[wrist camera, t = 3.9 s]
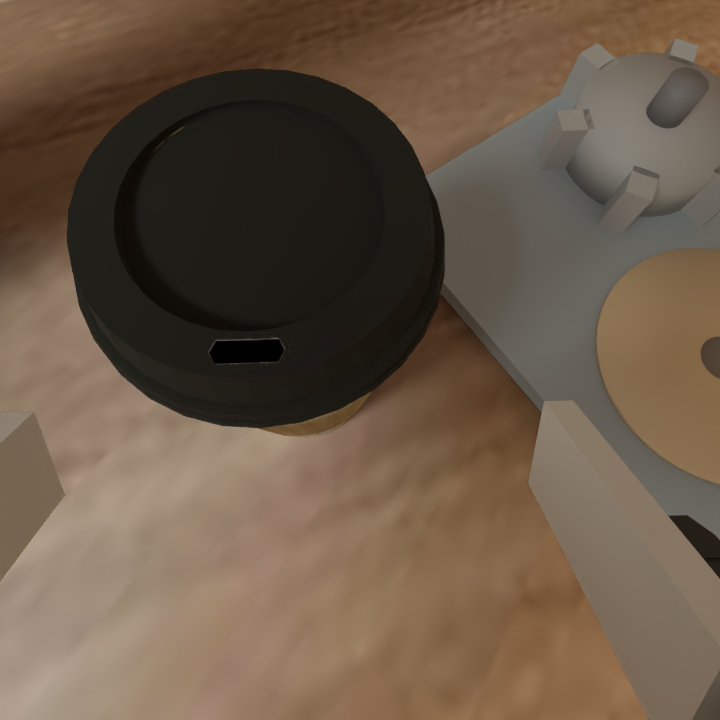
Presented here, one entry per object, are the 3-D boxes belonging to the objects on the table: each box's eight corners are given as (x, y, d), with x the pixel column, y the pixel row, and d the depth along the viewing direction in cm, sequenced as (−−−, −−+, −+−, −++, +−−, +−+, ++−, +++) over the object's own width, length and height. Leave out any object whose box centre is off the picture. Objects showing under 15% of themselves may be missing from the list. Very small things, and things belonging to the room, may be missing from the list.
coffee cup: (393, 293, 27) (440, 45, 13) (405, 469, 24) (485, 402, 10) (219, 298, 27) (69, 51, 13) (209, 477, 24) (-5, 421, 9)
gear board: (376, 217, 29) (382, 140, 23) (615, 70, 33) (674, -28, 27) (773, 686, 21) (933, 751, 15) (1018, 423, 25) (1221, 394, 19)
